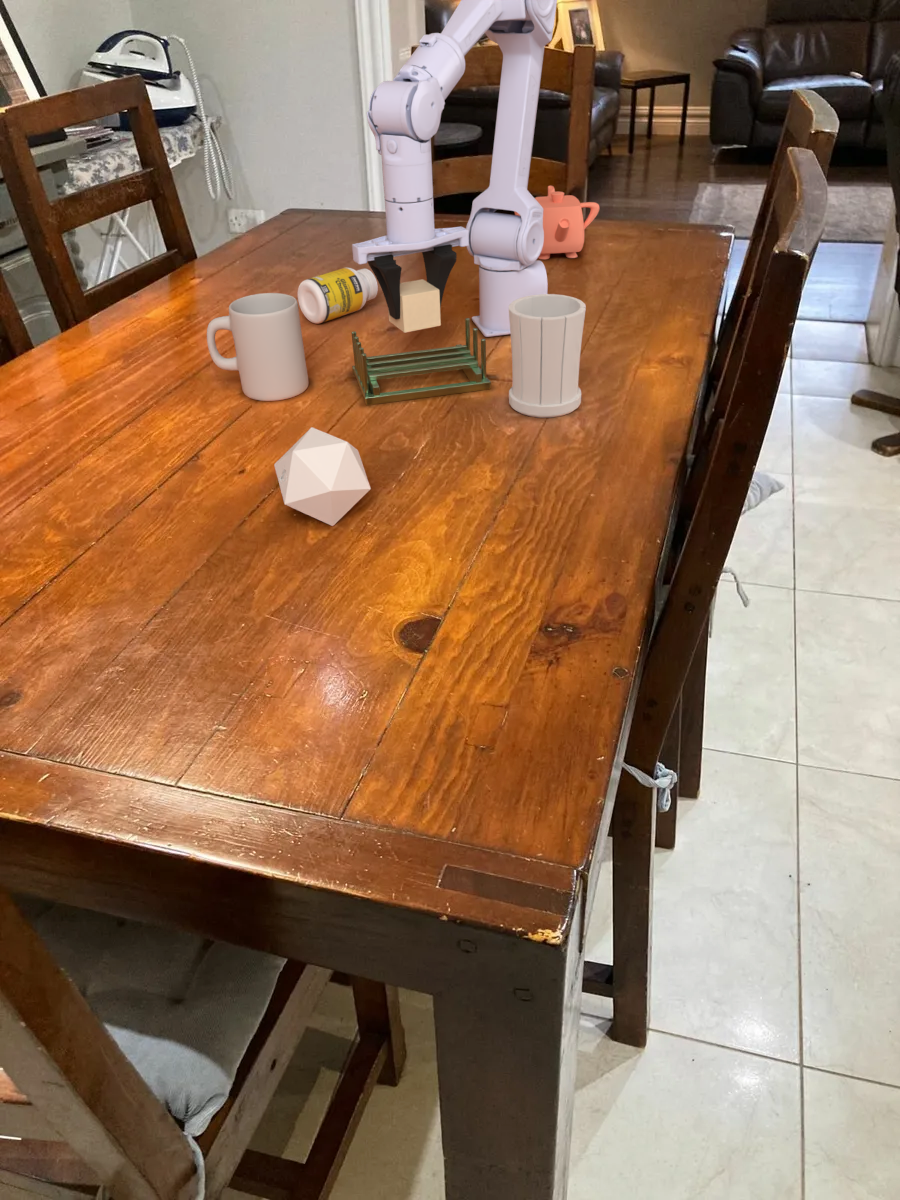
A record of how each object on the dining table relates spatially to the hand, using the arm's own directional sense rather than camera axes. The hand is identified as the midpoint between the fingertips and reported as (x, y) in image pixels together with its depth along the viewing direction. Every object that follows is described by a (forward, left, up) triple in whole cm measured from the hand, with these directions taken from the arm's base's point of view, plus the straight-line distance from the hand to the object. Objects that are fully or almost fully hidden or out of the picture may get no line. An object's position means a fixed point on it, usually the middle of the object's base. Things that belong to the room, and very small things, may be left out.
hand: (415, 313), depth 117 cm
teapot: (-35, -48, -9) cm, 60 cm away
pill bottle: (+11, -25, -5) cm, 28 cm away
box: (0, 0, -1) cm, 1 cm away
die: (+16, +31, -9) cm, 36 cm away
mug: (+20, -3, -9) cm, 22 cm away
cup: (-13, +12, -9) cm, 20 cm away
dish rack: (0, +1, -8) cm, 9 cm away
